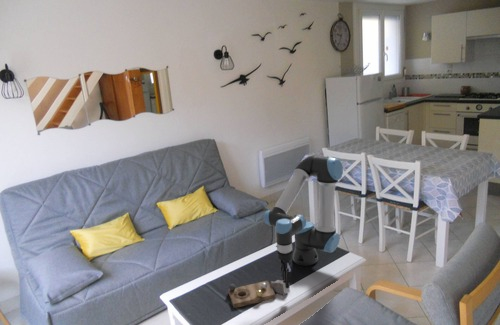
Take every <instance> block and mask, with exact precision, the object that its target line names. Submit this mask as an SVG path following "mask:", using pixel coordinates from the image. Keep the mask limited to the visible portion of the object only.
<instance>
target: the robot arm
mask: <svg viewBox="0 0 500 325" xmlns="http://www.w3.org/2000/svg"><path fill="white" fill-rule="evenodd" d="M342 163H343V162H341V160H340V159H339V158H337V157H332V156H322V155H321V156H320V155H315V154H314V155H309V156H307V157H305V158H304V159H302V160H301V161H300V162H299V163H298V164H297V165H296V166H295V168H294V170H293V175H292V176H291V178H290V180H289V181H288V183H287V184H286V186H285V188H284V190H283V192H282V193H281V195H280V197H279V198H278V200H277V202H276V203H275V204H274V207H273V208H272V209H271V210H270V209H268V210H266V211H265V212H264V214H263V222H264V224H266V225H267V226H270V227H275V233H276V234H275V236H276V245H275V247H276V250H277V251H276V256H277V259H278V261H279V265H280V266H279V268H280V273H281V274H280V275H281V277H282V281H283V286H284V293H287V294H288V293H290V292H291V290H290V288H291V287H290V285H291V283H292V274H293V268H292V267H291V259H292V261H293V263H295V264H296V265H299V266H302V267H303V266H304V267H306V266H307V267H308V266H312V265H315V264H317V263H318V262H319V254H318V253H317V250H319V251H321V252H322V251H323V252H325V253H333V252H335V251H336V249H337V247H338V246H339V244H340V239H341V235H340V234H339V233H338V232H337V227H335V226H334V220H335V218H334V217H335V199H336V198H335V195H336V192H335V191H336V185H337V184H338V182H339V180H340V179H342V177H343V175H344V174H343V173H344V167H343V164H342ZM311 177H316V182H317V183H318V184H319V185H318V188H319V189H318V211H317V212H318V214H317V217H318V218H317V225H315V224H314V223H313V222H311V221H307V219H306V218H305V216H303V215H302V214H300V213H299V214H296V215H294V216H293V215H289V214H287V213H288V212H289V211H290V208H291V206H292V205H293V203H294V202H295V200H296V198H297V197H298V195H299V193H300V191H301V190H302V188H303V187H304V185H305V183H306V182H307V181H309V180H310V178H311ZM293 237H294V250H293Z"/></svg>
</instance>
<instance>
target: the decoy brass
mask: <svg viewBox="0 0 500 325" xmlns="http://www.w3.org/2000/svg"><path fill="white" fill-rule="evenodd" d="M256 295H257V296H258V297H261V296H262V295H263V292H262V291H261V290H257V291H256Z"/></svg>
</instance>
